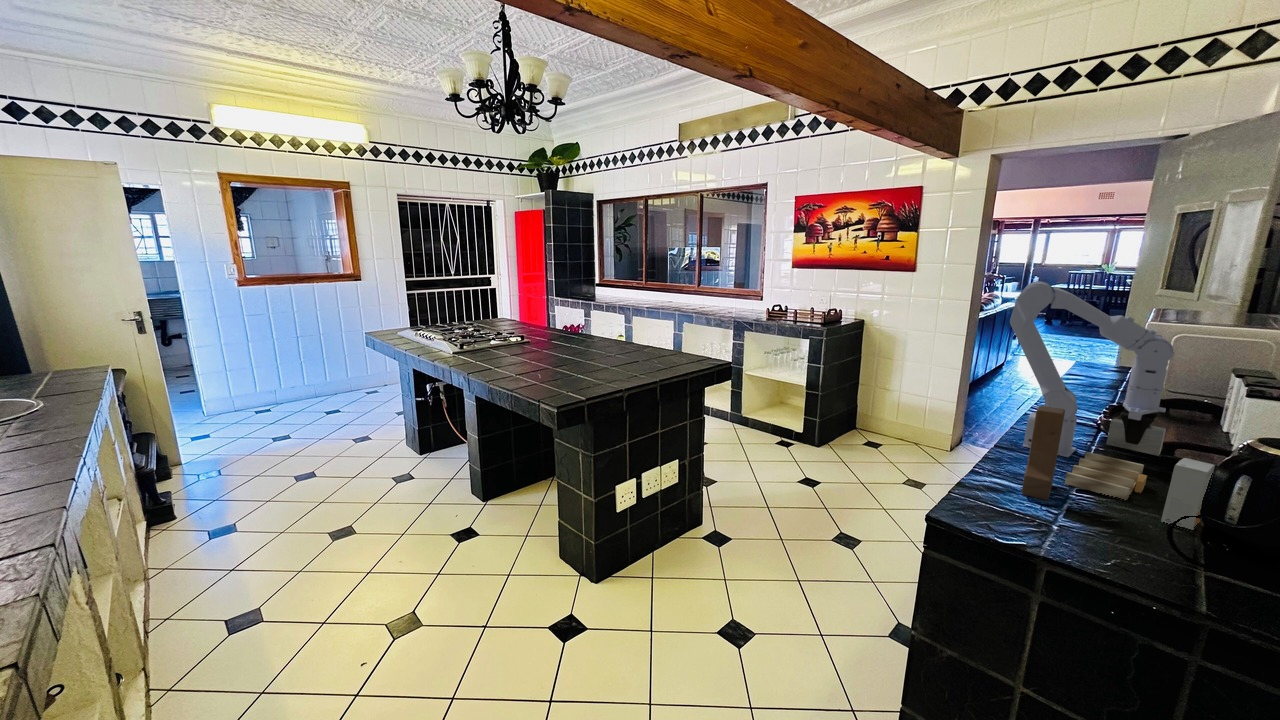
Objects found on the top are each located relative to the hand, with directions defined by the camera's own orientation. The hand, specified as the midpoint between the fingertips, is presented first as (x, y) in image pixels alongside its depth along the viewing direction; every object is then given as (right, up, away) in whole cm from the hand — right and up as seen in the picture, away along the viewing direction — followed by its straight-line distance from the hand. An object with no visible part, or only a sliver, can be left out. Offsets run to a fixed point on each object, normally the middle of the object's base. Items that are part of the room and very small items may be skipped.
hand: (1133, 441), depth 118 cm
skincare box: (-15, -12, -24) cm, 31 cm away
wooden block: (-32, -9, -11) cm, 35 cm away
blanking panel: (0, -2, 0) cm, 2 cm away
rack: (-13, -8, -7) cm, 17 cm away
